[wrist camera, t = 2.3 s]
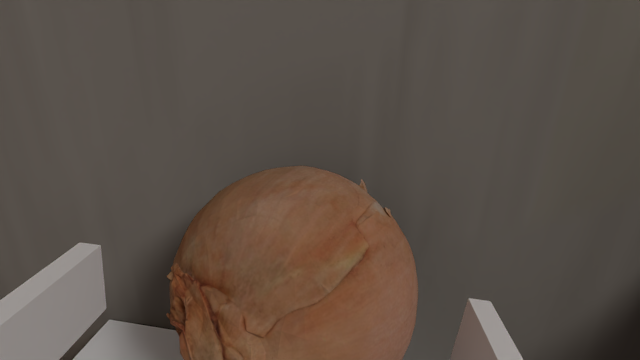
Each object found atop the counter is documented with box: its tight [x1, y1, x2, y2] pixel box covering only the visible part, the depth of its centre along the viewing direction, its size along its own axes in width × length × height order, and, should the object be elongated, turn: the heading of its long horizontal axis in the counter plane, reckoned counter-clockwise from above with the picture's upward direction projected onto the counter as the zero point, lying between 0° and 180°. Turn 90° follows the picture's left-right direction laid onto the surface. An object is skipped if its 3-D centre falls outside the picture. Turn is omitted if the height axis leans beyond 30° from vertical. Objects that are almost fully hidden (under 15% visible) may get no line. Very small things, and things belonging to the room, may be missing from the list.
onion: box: [166, 166, 418, 360], centre depth 15 cm, size 10×9×10 cm
